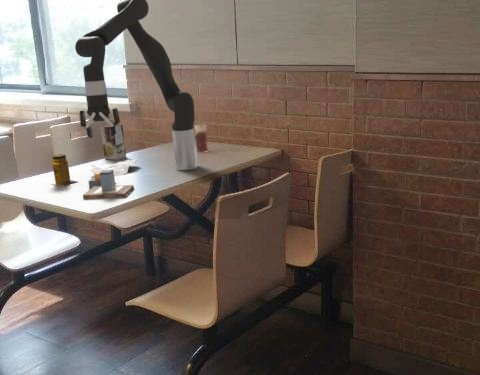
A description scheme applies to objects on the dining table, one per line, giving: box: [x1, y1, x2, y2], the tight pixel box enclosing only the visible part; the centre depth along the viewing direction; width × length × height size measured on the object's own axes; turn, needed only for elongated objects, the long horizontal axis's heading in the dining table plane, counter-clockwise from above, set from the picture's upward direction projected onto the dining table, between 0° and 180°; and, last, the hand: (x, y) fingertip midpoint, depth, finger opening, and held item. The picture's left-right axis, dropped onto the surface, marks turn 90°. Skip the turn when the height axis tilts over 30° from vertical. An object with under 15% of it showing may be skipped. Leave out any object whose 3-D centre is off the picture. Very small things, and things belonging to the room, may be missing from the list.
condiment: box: [52, 153, 78, 187], centre depth 246 cm, size 7×8×12 cm
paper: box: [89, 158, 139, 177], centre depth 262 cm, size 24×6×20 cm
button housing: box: [88, 176, 116, 189], centre depth 239 cm, size 8×8×3 cm
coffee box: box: [100, 124, 127, 161], centre depth 288 cm, size 9×6×16 cm
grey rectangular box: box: [100, 169, 116, 191], centre depth 225 cm, size 4×4×7 cm
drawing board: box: [82, 184, 135, 200], centre depth 226 cm, size 16×12×2 cm
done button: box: [93, 172, 100, 180], centre depth 238 cm, size 4×4×3 cm
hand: (102, 137), depth 221 cm, fingers open, 8 cm apart
